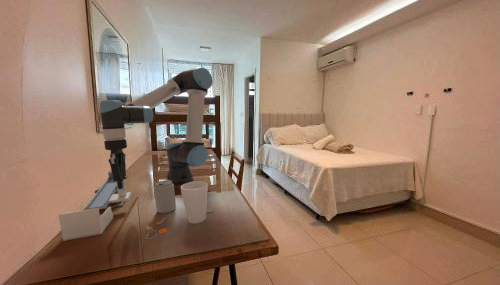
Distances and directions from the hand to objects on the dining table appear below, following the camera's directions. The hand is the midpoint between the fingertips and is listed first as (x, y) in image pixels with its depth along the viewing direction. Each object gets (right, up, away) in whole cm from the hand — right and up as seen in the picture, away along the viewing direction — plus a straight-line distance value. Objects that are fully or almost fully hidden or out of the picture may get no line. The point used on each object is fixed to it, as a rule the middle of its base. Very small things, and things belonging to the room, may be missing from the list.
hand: (122, 195), depth 86 cm
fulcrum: (-9, -6, +7) cm, 13 cm away
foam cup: (+34, -6, -10) cm, 36 cm away
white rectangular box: (-3, -8, -13) cm, 16 cm away
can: (+19, -6, -1) cm, 20 cm away
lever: (-6, +1, +7) cm, 9 cm away
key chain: (+21, -8, -15) cm, 27 cm away
